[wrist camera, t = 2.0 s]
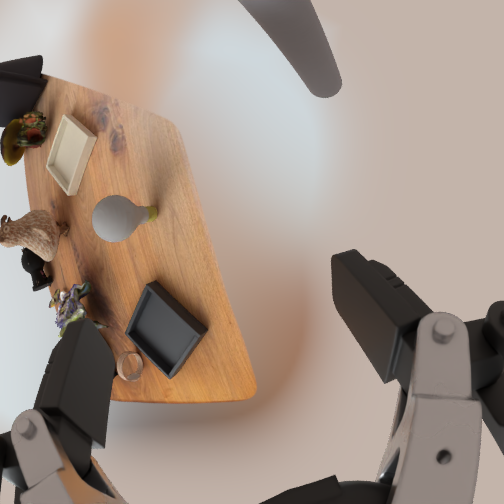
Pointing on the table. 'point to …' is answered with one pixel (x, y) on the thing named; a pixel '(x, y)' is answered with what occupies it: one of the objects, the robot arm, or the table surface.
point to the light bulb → (119, 217)
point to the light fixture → (19, 87)
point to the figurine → (33, 233)
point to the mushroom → (22, 136)
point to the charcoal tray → (164, 329)
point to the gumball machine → (35, 269)
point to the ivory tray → (70, 153)
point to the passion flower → (72, 306)
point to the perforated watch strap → (135, 375)
